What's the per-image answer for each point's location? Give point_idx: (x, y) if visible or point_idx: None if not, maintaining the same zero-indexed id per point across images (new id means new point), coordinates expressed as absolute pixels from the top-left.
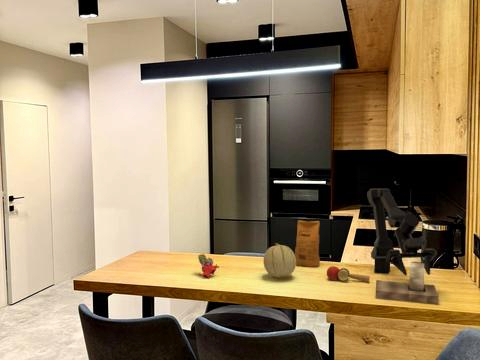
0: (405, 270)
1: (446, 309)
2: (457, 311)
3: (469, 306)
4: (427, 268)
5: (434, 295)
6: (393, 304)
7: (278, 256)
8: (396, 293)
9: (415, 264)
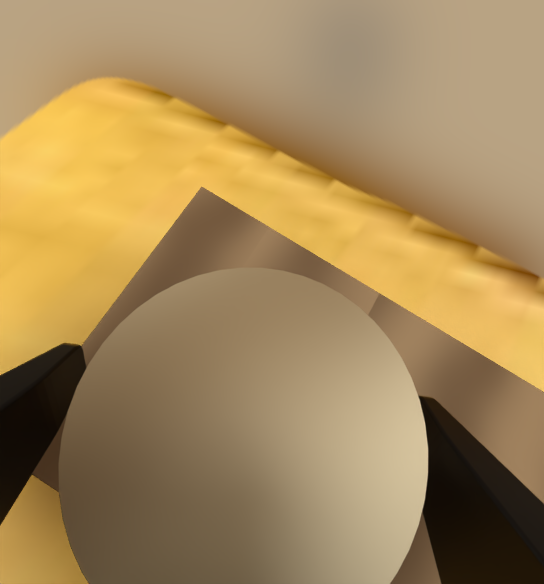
0: (456, 440)
1: (216, 143)
2: (178, 106)
3: (42, 143)
4: (13, 419)
5: (214, 213)
6: (474, 286)
7: None
8: (455, 342)
9: (361, 352)
